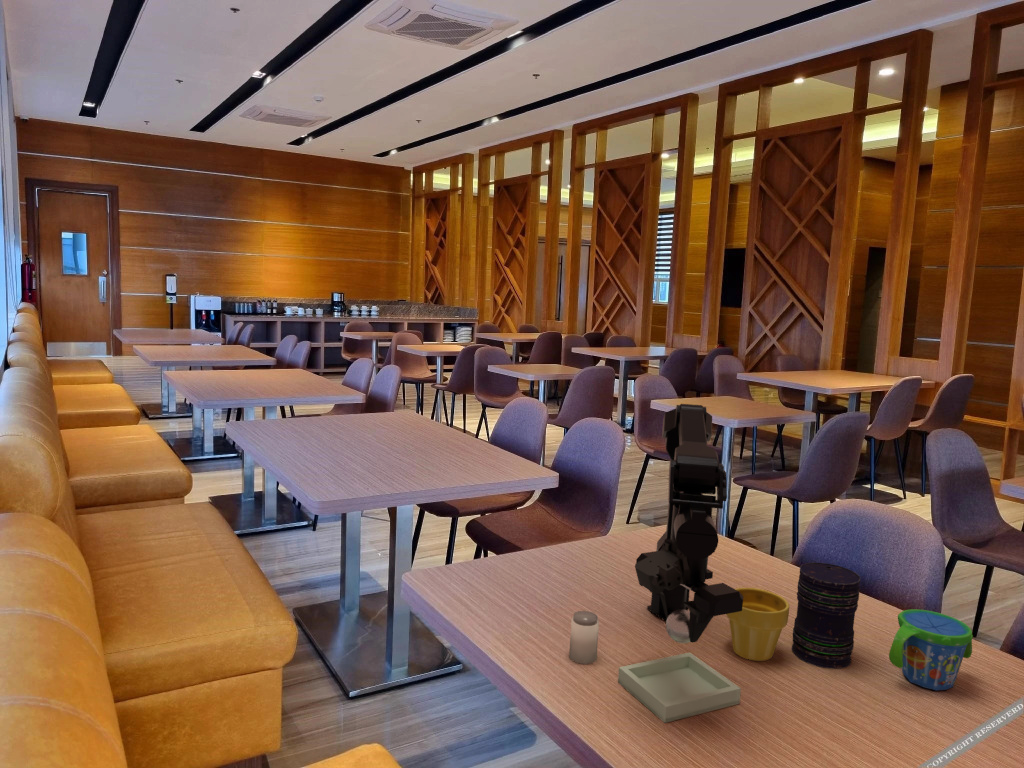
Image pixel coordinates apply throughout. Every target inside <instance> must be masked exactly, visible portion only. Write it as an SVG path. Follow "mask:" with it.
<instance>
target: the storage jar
mask: <svg viewBox="0 0 1024 768" xmlns="http://www.w3.org/2000/svg"><path fill="white" fill-rule="evenodd" d="M860 582H861V576H860V574H858V573H857V572H855V571H853V570H851V569H849V568H847V567H844V566H840V565H836V564H830V563H825V562H809V563H808V562H807V563H804V564H801V565H800V567H799V575H798V581H797V592H796V599H797V608H796V617H795V618H794V624H793V628H792V645H791V652H792V654H793V655H794V656H795V657H797V659H799V660H801V661H803V662H804V663H807V664H809V665H812V666H814V667H818V668H823V669H828V670H829V669H832V670H833V669H834V670H835V669H836V670H839V669H845V668H847V667H849V666H850V665H851V663H852V657H851V656H852V654H853V650H854V644H855V640H854V638H855V630H854V625H855V614H856V612H857V610H858V606H859V604H858V602H859V600H860V584H861V583H860Z"/></svg>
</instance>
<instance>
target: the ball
mask: <svg viewBox="0 0 1024 768" xmlns="http://www.w3.org/2000/svg"><path fill="white" fill-rule="evenodd" d="M689 627H690V610H689V609H688V610H684V609H678V610H675V611H673V612H672V613H671V614H670V615H669V616H668V618H667V621H665V629H666V630H665V631H666V633H667V634H668V636H669V638H670V639H672V640H673V641H674V642H676V643H678V644H689V643H691V642H690V635H689Z"/></svg>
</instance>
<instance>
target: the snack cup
mask: <svg viewBox="0 0 1024 768" xmlns="http://www.w3.org/2000/svg"><path fill="white" fill-rule="evenodd" d="M897 620H898V625H899V628H898V630H897V632H896V633H895V635H894V636H893V637H894V638H893V640H892V642H891V646H890V648H889V653H888V658H889V661H890V663H891V664H892V666H894V667H896V668H899V669H901V670H902V673H903V675H904V677H906V679H907V680H908V681H909V683H912V684H915V685H917V686H919V687H923V688H926V689H930V690H934V691H938V692H939V691H945V690H949V689H951V688H954V686H955V682H956V679H957V677H958V673H959V672H960V668H961V665H962V662H963V658H964V659H970V658H971V656H972V654H973V638H974V635H973V631H972V629H971V627H970V626H969V625H967V624H966V623H965V622H964V621H961V620H960V619H957V618H955V617H953V616H950V615H946V614H945V613H944V614H943V613H940V612H938V611H937V612H936V611H932V610H926V609H918V608H917V609H914V608H913V609H906V610H902V611H901V612H899V613H898V615H897Z"/></svg>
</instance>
